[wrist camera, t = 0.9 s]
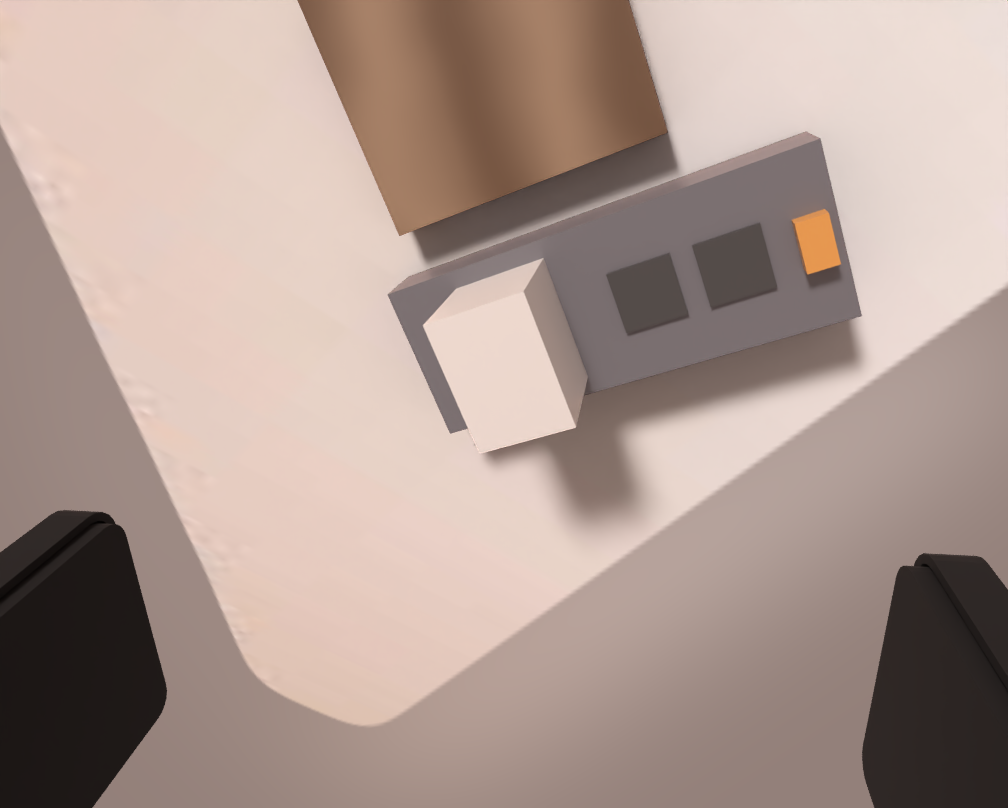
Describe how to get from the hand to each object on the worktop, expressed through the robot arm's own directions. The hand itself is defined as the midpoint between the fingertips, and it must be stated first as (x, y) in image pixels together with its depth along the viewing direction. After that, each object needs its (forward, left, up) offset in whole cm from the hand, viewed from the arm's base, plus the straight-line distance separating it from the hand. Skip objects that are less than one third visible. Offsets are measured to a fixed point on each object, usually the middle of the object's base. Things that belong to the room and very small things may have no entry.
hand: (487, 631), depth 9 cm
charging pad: (+3, -8, -26) cm, 28 cm away
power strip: (+1, +3, -26) cm, 26 cm away
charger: (+5, +3, -25) cm, 25 cm away
